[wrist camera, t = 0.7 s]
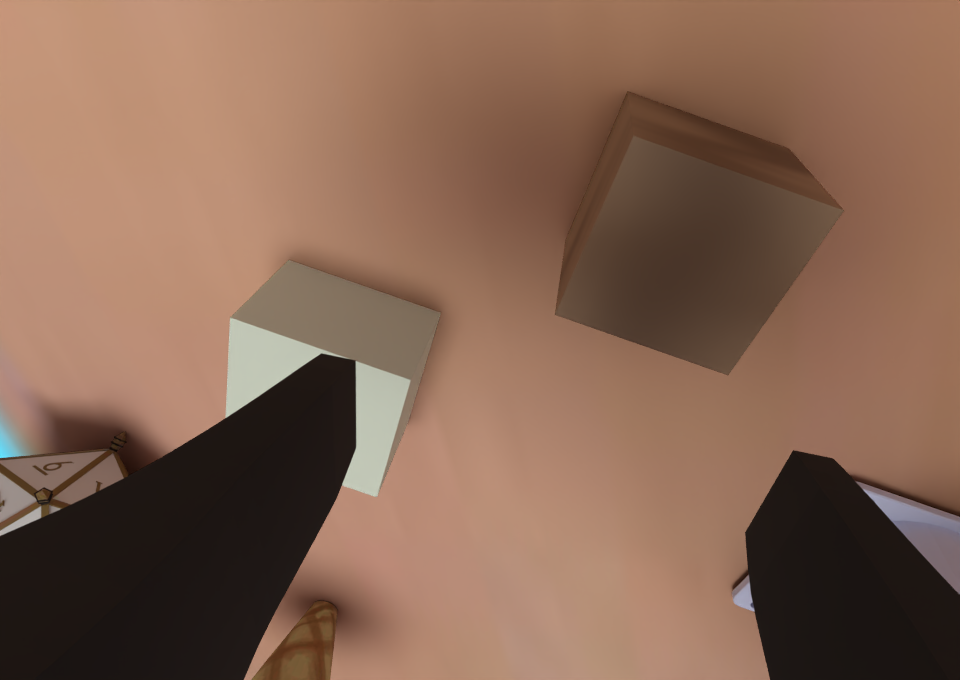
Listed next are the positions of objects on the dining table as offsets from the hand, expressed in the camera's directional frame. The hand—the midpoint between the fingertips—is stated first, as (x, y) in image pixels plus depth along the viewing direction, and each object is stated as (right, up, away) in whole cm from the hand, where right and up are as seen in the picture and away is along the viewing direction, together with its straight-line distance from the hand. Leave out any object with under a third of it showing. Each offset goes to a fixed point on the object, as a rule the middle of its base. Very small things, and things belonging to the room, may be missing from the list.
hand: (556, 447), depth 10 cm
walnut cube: (+4, +6, +7) cm, 10 cm away
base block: (-6, +2, +12) cm, 13 cm away
